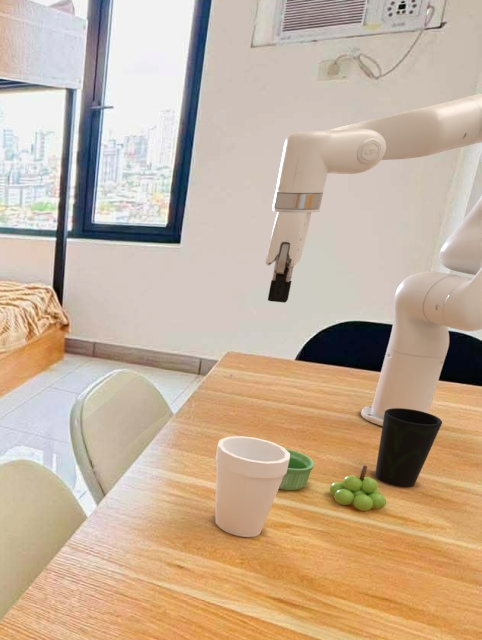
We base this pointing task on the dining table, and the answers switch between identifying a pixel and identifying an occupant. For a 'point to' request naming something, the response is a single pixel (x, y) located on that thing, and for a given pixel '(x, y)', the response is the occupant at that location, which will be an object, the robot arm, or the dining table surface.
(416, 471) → the cup
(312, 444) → the dining table surface
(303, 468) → the ramekin
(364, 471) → the grapes
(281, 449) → the foam cup
